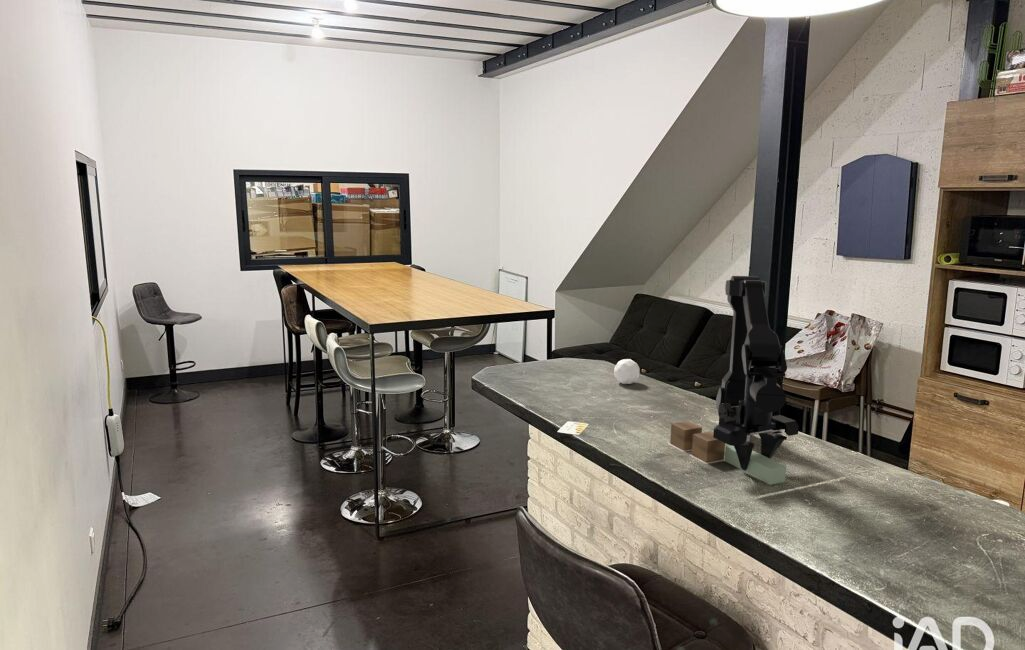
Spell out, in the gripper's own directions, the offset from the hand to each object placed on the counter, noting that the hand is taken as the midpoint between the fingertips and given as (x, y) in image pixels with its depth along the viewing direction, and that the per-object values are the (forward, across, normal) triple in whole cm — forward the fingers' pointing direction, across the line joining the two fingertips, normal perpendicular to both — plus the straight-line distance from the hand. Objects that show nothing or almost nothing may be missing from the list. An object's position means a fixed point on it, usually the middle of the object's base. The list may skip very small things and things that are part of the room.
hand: (753, 467), depth 149 cm
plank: (+1, 0, 0) cm, 1 cm away
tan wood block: (+1, +4, -10) cm, 11 cm away
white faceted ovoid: (+1, -15, -73) cm, 75 cm away
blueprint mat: (+1, +4, -14) cm, 15 cm away
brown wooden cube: (+1, +4, -18) cm, 18 cm away
